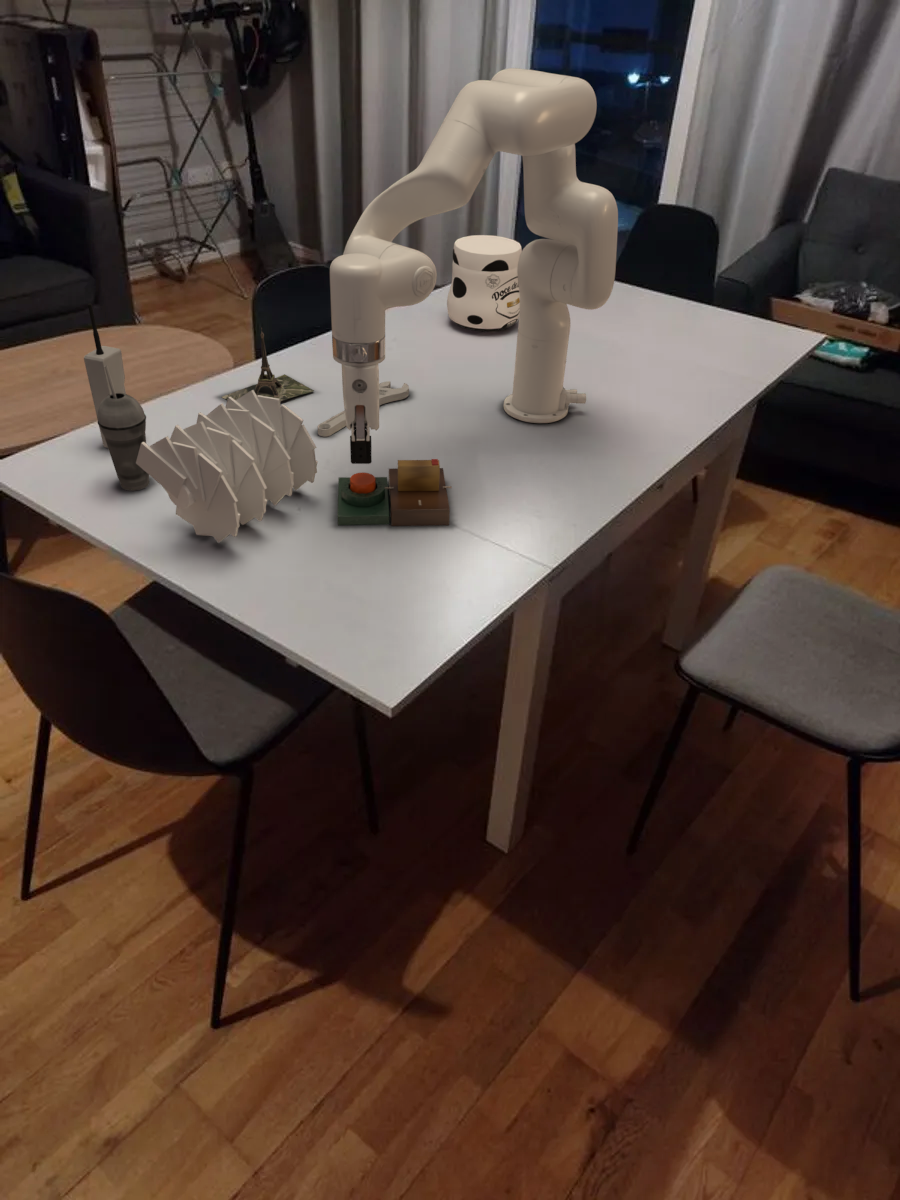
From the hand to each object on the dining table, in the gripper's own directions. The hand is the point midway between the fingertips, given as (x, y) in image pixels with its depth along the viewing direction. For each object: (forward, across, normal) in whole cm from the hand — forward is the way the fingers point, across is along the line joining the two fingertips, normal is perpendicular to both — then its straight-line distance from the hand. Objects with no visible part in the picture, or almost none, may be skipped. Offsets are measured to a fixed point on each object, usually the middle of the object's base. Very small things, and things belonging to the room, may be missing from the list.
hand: (361, 461), depth 137 cm
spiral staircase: (+8, -1, +19) cm, 21 cm away
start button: (+5, 0, 0) cm, 5 cm away
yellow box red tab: (+5, 0, -9) cm, 10 cm away
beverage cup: (+8, +8, +37) cm, 39 cm away
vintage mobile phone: (+8, +22, +42) cm, 48 cm away
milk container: (+8, +81, -29) cm, 86 cm away
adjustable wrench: (+8, +35, 0) cm, 36 cm away
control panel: (+8, 0, -9) cm, 12 cm away
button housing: (+8, 0, 0) cm, 8 cm away
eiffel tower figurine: (+8, +42, +18) cm, 46 cm away
